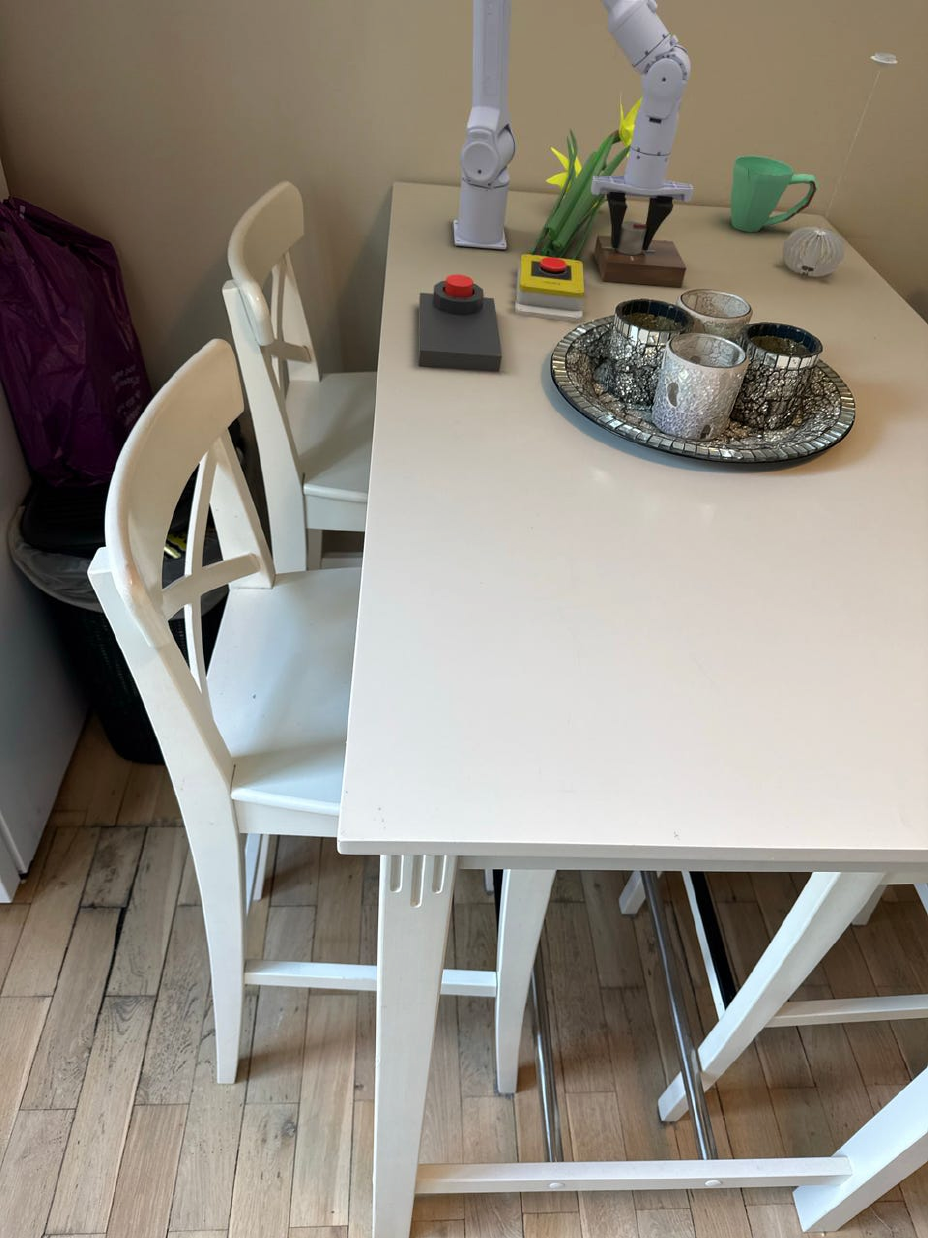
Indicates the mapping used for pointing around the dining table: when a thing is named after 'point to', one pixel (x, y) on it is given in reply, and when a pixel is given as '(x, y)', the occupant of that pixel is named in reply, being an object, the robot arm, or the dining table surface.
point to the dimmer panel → (640, 264)
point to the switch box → (458, 331)
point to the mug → (763, 192)
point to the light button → (459, 286)
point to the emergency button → (550, 288)
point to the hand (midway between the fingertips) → (629, 246)
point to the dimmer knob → (631, 237)
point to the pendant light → (825, 235)
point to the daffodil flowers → (582, 189)
